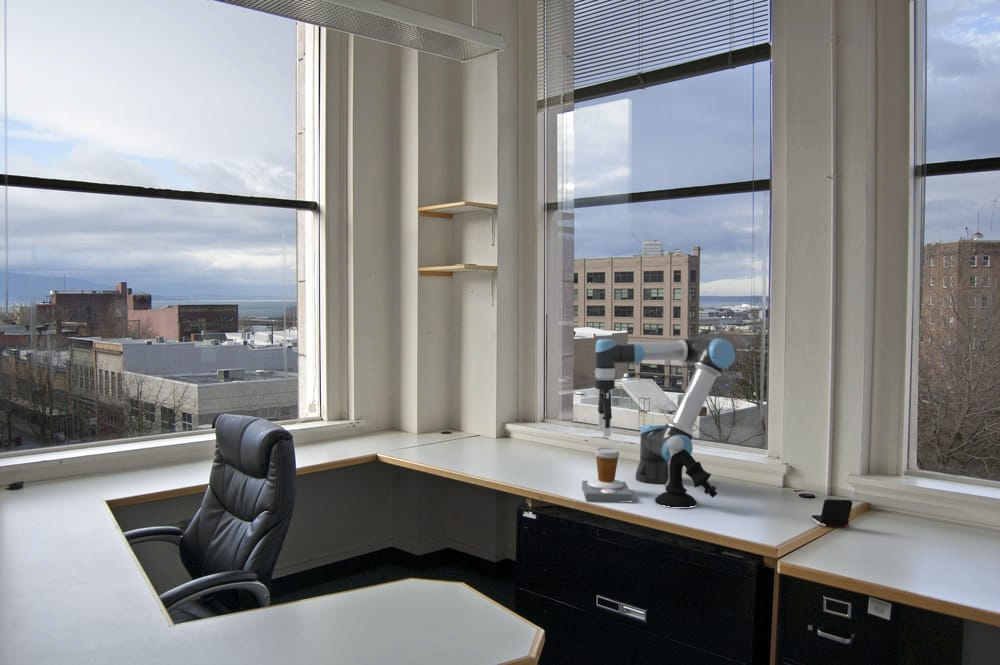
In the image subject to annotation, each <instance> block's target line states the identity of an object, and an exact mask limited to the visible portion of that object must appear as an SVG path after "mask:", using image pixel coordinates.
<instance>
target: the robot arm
mask: <svg viewBox="0 0 1000 665" xmlns="http://www.w3.org/2000/svg"><path fill="white" fill-rule="evenodd" d="M594 352H595V370H594V371H593V373H595V379H594V382H595V383H594V384H595V385H594V386H595V390H598V391H599V394H598V404H597V406H598V407H597V411H598V431H602V432H603V437H611V436H612V435H611V434H612V432H611V431H612V418H613V416H612V414H613V413H612V399H611V398H612V397H611V395H612V393H611V392H610V391H611V390H615V389H616V386H615V385H616V382H615V378H616V364H640V363H642V362H643V361H674V360H675V361H679V362H680V363H691V364H694V367H695V370H694V372H693V373H692V374H693V375H692V377H691V379H690V380H689V383H688V385H687V387H686V390H685V392H684V394H683V397H682V398H681V401H680V403H679V404H678V407H677V408H676V410H675V411H676V412H674V415H673V417H672V420H671V421H670V422H666V423H665V424H650V425H649V424H648V425H642V426H641V428H640V432H639V433H640V434H639V436H640V442H639V443H640V446H639V448H640V450H639V451H640V453H639V457H640V458H639V462H638V466H637V469H636V470H635V480H636V481H638V480H639V481H638V482H642V483H646V482H648V484H666V482H667V481H668V479H669V477H668V476H669V475H668V471H669V470H668V469H669V468H668V467H669V462H670V461H669V460H671V459H670V451H669V450H670V449H669V448H668V446H667V441H668V439H669V438H670V437H672V436H678V437H680V438H682V440H683V441H684V446H683V448H684V449H685V450H686V451H687V452H688V453H689V454H690V455H691V456H692V452H693V449H694V448H693V447H694V446H693V442H692V440H693V437H694V435H693V431H692V430H693V428H694V426H695V424H696V422H697V419H698V418H699V415H700V413H701V411H702V409H703V406H704V404H705V402H706V400H707V398H708V395H709V393H710V391H711V389H712V387H713V385H714V382H715V381H716V378H718V377H721V376H722V374H723V373H724V370H725V369H727V368H729V367H731V366H732V365H733V363H734V362H735V358H736V351H735V348H734V346H733V345H732V343H730V341H728V340H727V339H723V338H718V337H717V338H715V337H714V338H713V337H697V338H695V337H694V338H686V339H685V338H684V339H679V340H677V341H640V342H638V341H637V342H635V341H631V342H629V341H627V342H624V341H623V342H619V341H618V342H616V340H615V339H607V338H605V339H604V338H603V339H602V338H600V339H598V340H596V344H595V351H594Z"/></svg>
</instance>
